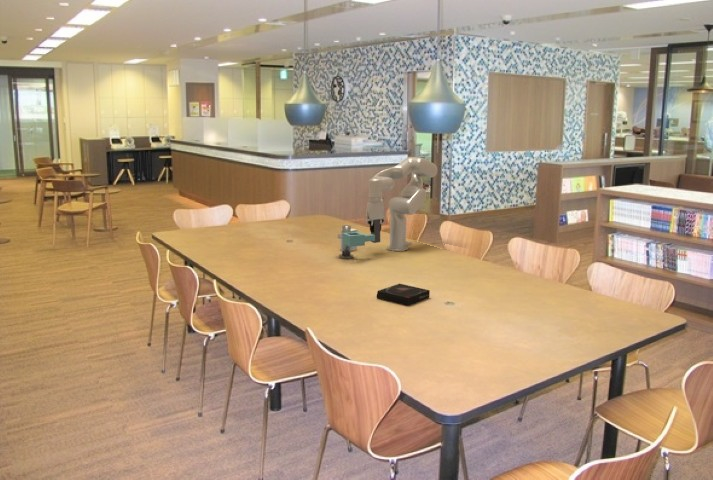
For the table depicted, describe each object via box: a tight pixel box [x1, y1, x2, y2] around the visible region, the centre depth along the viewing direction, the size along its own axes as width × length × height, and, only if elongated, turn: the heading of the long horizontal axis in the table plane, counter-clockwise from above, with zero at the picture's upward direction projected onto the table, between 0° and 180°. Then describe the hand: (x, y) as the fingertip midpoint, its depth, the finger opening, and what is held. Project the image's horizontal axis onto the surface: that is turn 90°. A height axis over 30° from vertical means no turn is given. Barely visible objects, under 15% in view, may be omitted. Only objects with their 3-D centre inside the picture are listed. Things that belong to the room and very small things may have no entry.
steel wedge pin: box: [370, 219, 381, 244], centre depth 359 cm, size 4×4×18 cm
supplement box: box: [339, 228, 358, 252], centre depth 372 cm, size 7×7×13 cm
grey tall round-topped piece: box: [337, 224, 354, 260], centre depth 352 cm, size 10×10×18 cm
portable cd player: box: [376, 283, 431, 307], centre depth 276 cm, size 16×17×4 cm
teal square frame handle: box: [342, 231, 375, 247], centre depth 346 cm, size 17×9×6 cm, turn 118°
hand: (375, 231), depth 360 cm, fingers closed on steel wedge pin, 4 cm apart
